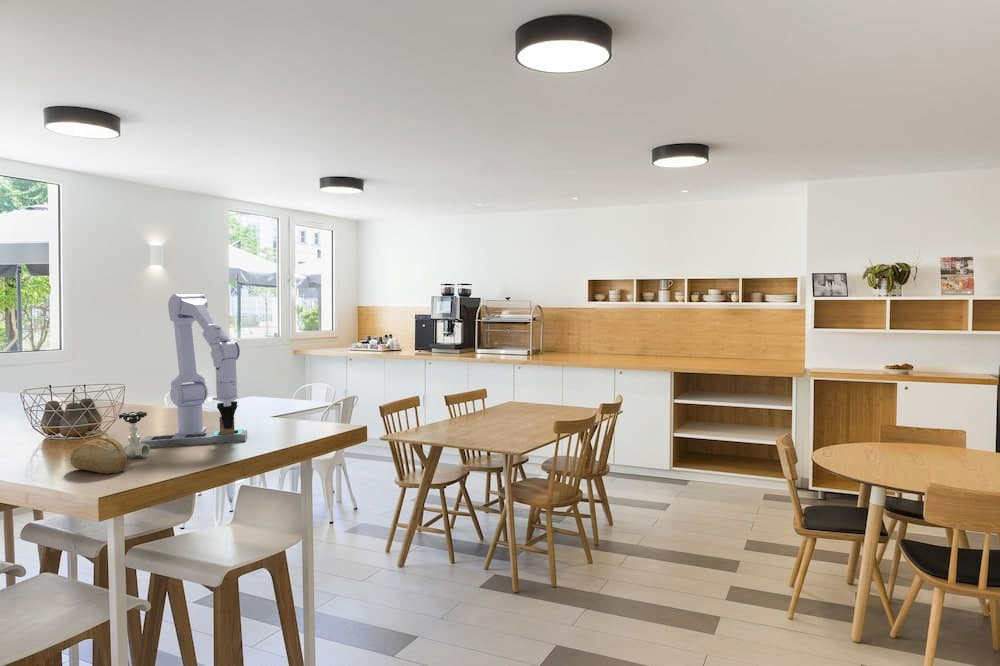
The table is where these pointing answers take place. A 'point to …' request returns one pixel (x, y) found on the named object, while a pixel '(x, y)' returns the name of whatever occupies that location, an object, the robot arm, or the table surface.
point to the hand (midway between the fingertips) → (228, 427)
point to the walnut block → (226, 431)
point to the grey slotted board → (194, 439)
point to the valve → (134, 436)
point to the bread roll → (99, 456)
